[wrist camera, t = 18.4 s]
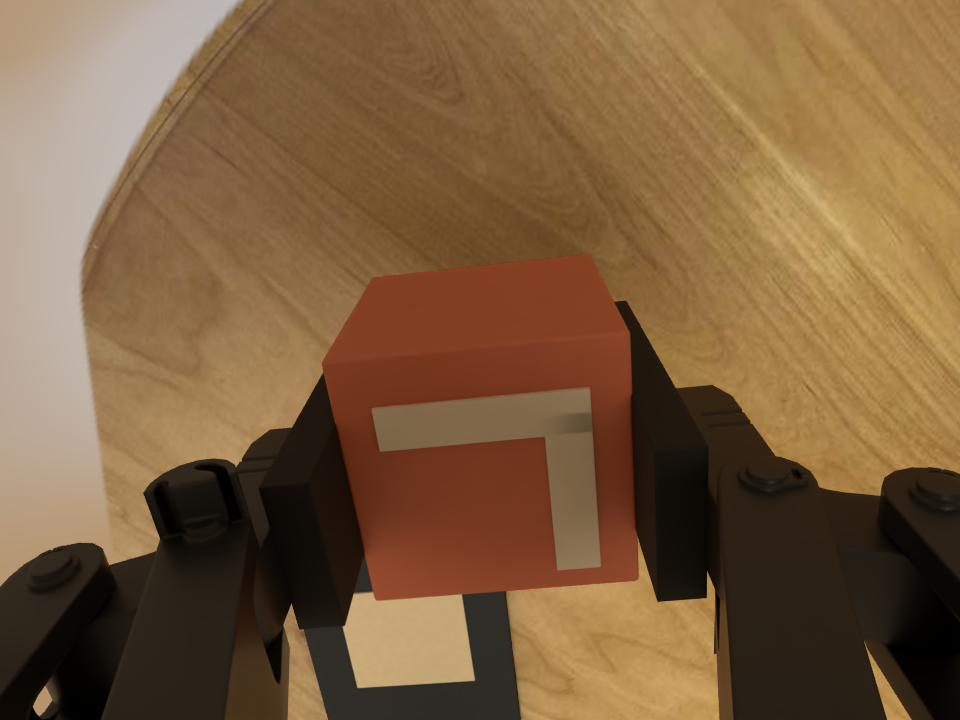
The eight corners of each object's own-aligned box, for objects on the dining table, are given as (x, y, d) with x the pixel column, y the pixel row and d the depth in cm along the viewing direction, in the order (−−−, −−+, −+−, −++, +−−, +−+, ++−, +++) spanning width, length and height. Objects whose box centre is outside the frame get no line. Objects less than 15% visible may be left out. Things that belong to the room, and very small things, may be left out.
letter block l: (371, 276, 16) (318, 364, 11) (590, 252, 15) (632, 333, 11) (406, 464, 18) (373, 607, 13) (601, 446, 17) (640, 586, 13)
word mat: (290, 552, 33) (284, 564, 32) (498, 536, 32) (498, 548, 31) (363, 826, 40) (360, 842, 39) (532, 818, 40) (533, 834, 39)
